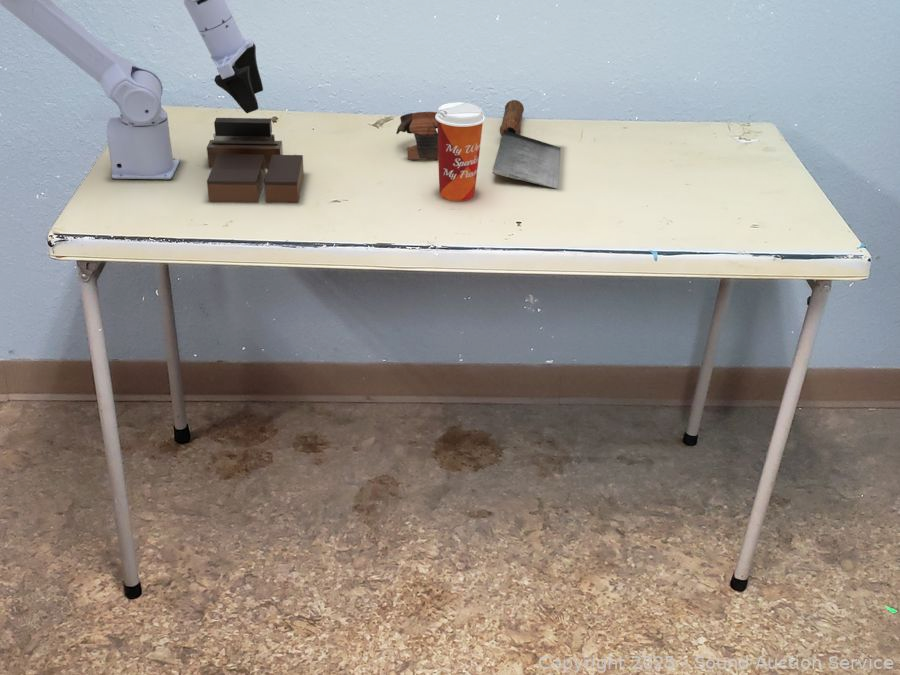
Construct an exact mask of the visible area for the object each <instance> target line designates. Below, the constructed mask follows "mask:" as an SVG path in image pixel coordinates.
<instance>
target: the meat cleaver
mask: <svg viewBox="0 0 900 675" xmlns="http://www.w3.org/2000/svg"><path fill="white" fill-rule="evenodd" d="M524 111H525V107H524V105H523V103H522V102H521V101H519V100H517V99H511V100H509V101H507V102H506V104H505V106H504V113H503V118H502V122H501V125H500V127H499V134H500V136H501V140H500V142H499V147H498V150H497V153H496V157H495V160H494V164H493V168H492V171H491V173H492V174H494V175H498V176H502V177H506V178H510V179H514V180H518V181H522V182H523V181H524V182H527V183H532V184H536V185H539V186H545V187H547V188H552V189H557V190H558V189H559V174H560V164H561V163H560V162H561V149H562V148H561V147H560V146H557V145H554V144H550V143H547V142H545V141H540V140H538V139H534V138H531V137H529V136H525V135H522V134H521V125H522V120H523V114H524Z"/></svg>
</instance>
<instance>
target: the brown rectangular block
mask: <svg viewBox="0 0 900 675" xmlns="http://www.w3.org/2000/svg"><path fill="white" fill-rule="evenodd" d="M304 175H305V172H304V155H303V154H283V155H272V157H271V160H270V164H269V167H268V168H267V170H266V176H265V179H264V183H263V185H264V194H265V202H266V203H287V204H288V203H290V204H291V203H293V204H295V203H297V204H298V203H299V201H300V196H301V191H302V186H303V180H304Z"/></svg>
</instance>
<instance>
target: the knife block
mask: <svg viewBox="0 0 900 675" xmlns="http://www.w3.org/2000/svg"><path fill="white" fill-rule="evenodd" d="M206 153H207V163H208V164H207V165H208V168H212V167H213V165H214V162H215V160H216V158H217V155H218V154H259V155H264V156H265V169H268V167H269V164H270V160H271V157H272V155H284V149H283V140H275V146H261V145H214V139H209V141H208V144H207V146H206Z"/></svg>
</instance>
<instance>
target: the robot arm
mask: <svg viewBox="0 0 900 675" xmlns="http://www.w3.org/2000/svg"><path fill="white" fill-rule="evenodd" d="M183 4H184V6H185V8H186V10H187V13H189V15H190V16H189V17H190V18H191V19H192V21H193V24H194V25H195V27H196V29H197V31H198V33H199V35H200V37H201V39H202V41H203V43H204V45H205V46H206V48H207V50H208V52H209V54H210V58H211V61H212V62H213V64H215V66H216V70H217V72H218V74H217V75H215V77H214V83H215V85H217V87H219V88H221V90H223V91H224V92H226V93H227V94H229V95H230V96H231V97H232V99H233V100H234V101H235V102H236V103H237V105H238V106H239V107H240V108H241V109H242V110H243V112H244V113H246V114H250V113H252V112H256V111H257V110H259V103H258V99H257V97H256V94H258V93H261V92H263V91H264V87H263V86H264V85H263V82H262V78H261V75H260V71H259V66H258V62H257V54H256V52H257V50H256V48H257V47H256V44H255V41H254V40H253V39H252V38H248V39H245V38H244V37H243V35H242V32H241V30H240V29H239V26H238V24H237V22H236V20H235V18H234V16H233V14H232V12H231V10H230V8H229V6H228V4H227V2H226V0H183ZM0 5H1V6H2V7H3V8H4V9H6V10H7V11H8V12H10V13H11V14H12V15H13V16H14V17H16V18H17V19H18V20H19V21H21V22H22V23H23V24H25V25H26V26H27V27H28V28H30V29H31V30H32V31H33V32H34V33H35V34H37V35H38V36H40V37H41V38H42V39H44V40H45V41H46V42H47V43H48V44H50V46H52V47H53V48H55V49H56V50H57V51H58V52H59V53H61V54H62V55H64V57H65V58H67V59H68V60H69V61H71V62H72V63H73V64H75V65H76V66H77V67H78V68H80V69H81V70H82V71H84V72H85V73H86V74H87V75H89V76H90V77H91V78H92V79H94V80H95V81H96V82H97V83H98V85H100V87H101V88H102V90H103V92H104V93H105V95H106V96H107V98H108V99H110V100H111V101H112V102H113V103H115V105H116V106H117V108H118V109H119V113H120V116H116V117H109V119H108V121H107V124H106V141H107V147H108V154H109V160H110V165H111V171H112V174H111V178H112V179H115V180H123V179H124V180H171V179H172V178H173V177H174V176H175V173H176V170H178V169H177V168H178V167H179V165H180V163H181V159H180V158H179V157H176V158H174V157H173V150H172V140H171V134H170V133H171V132H170V126H169V125H170V124H169V118H168V112H167V111H166V110H165V109H164V108H163V107H162V95H163V90H164V89H163V87H164V86H163V84H162V81H161V79H160V78H159V76H158V75H157V74H156V73H155V72H153V71H152V70H150V69H147V68H143V67H140V66H138V65H137V64H135V63H133V61H131V60H130V59H128V58H125V57H122V56H119V55H118V54H117V53H115V52H114V51H113V50H112V49H110V48H109V47H108V46H107V45H106V44H105V43H103V42H102V41H101V40H100V39H98V38H97V37H96V36H95V35H94V34H93V33H92V32H90V31H89V30H88V29H86V28H85V27H84V26H82V25H81V24H80V23H79V22H77V21H76V20H75V18H73V17H72V16H71V15H70V14H68V13H67V12H66V11H64V10H63V9H62V8H61V7H59V5H57V4H56V3H55V2H54V1H53V0H0Z"/></svg>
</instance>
